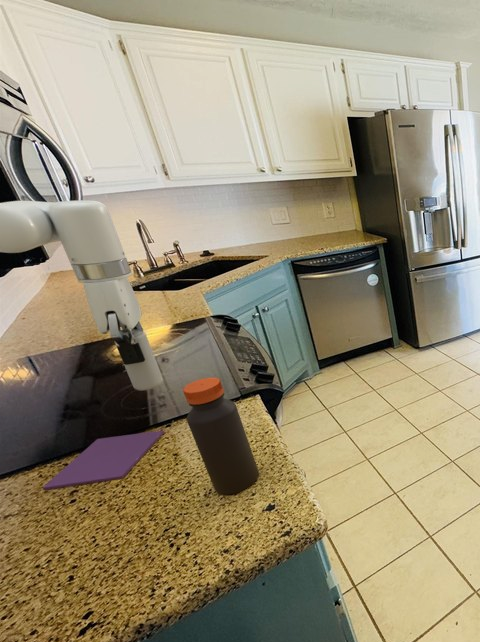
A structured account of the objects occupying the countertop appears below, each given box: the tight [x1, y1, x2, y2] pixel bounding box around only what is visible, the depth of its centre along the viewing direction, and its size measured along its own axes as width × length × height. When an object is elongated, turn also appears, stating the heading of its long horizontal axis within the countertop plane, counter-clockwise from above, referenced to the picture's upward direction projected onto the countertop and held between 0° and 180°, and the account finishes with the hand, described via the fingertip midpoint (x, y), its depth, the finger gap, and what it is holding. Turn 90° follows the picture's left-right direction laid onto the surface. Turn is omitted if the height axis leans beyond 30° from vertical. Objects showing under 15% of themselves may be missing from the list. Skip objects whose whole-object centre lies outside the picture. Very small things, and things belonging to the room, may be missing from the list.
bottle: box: [182, 377, 260, 496], centre depth 69 cm, size 7×7×20 cm
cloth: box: [42, 430, 165, 491], centre depth 79 cm, size 12×14×1 cm
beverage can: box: [113, 329, 164, 391], centre depth 83 cm, size 5×5×12 cm
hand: (137, 356), depth 83 cm, fingers closed on beverage can, 4 cm apart
